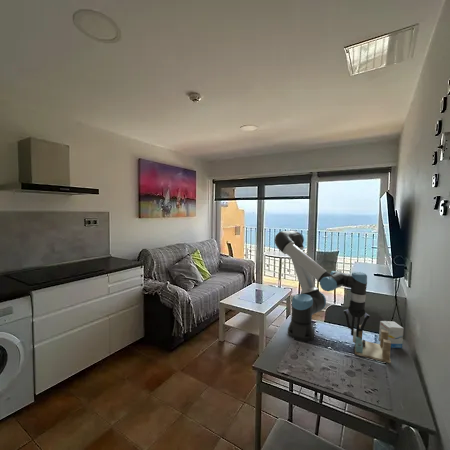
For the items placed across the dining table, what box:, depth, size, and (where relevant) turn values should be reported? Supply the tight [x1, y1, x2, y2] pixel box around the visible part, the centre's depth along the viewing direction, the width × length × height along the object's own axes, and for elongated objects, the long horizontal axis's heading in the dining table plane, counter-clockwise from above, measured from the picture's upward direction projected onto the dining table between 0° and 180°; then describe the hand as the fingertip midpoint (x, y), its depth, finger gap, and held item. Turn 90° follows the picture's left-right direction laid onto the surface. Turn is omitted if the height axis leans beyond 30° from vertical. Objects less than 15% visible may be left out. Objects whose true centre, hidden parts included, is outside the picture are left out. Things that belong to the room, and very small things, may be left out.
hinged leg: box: [354, 337, 363, 353], centre depth 137 cm, size 11×3×4 cm, turn 155°
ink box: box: [378, 320, 404, 349], centre depth 144 cm, size 9×8×12 cm
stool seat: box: [354, 324, 392, 364], centre depth 136 cm, size 16×16×10 cm
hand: (354, 341), depth 141 cm, fingers closed
